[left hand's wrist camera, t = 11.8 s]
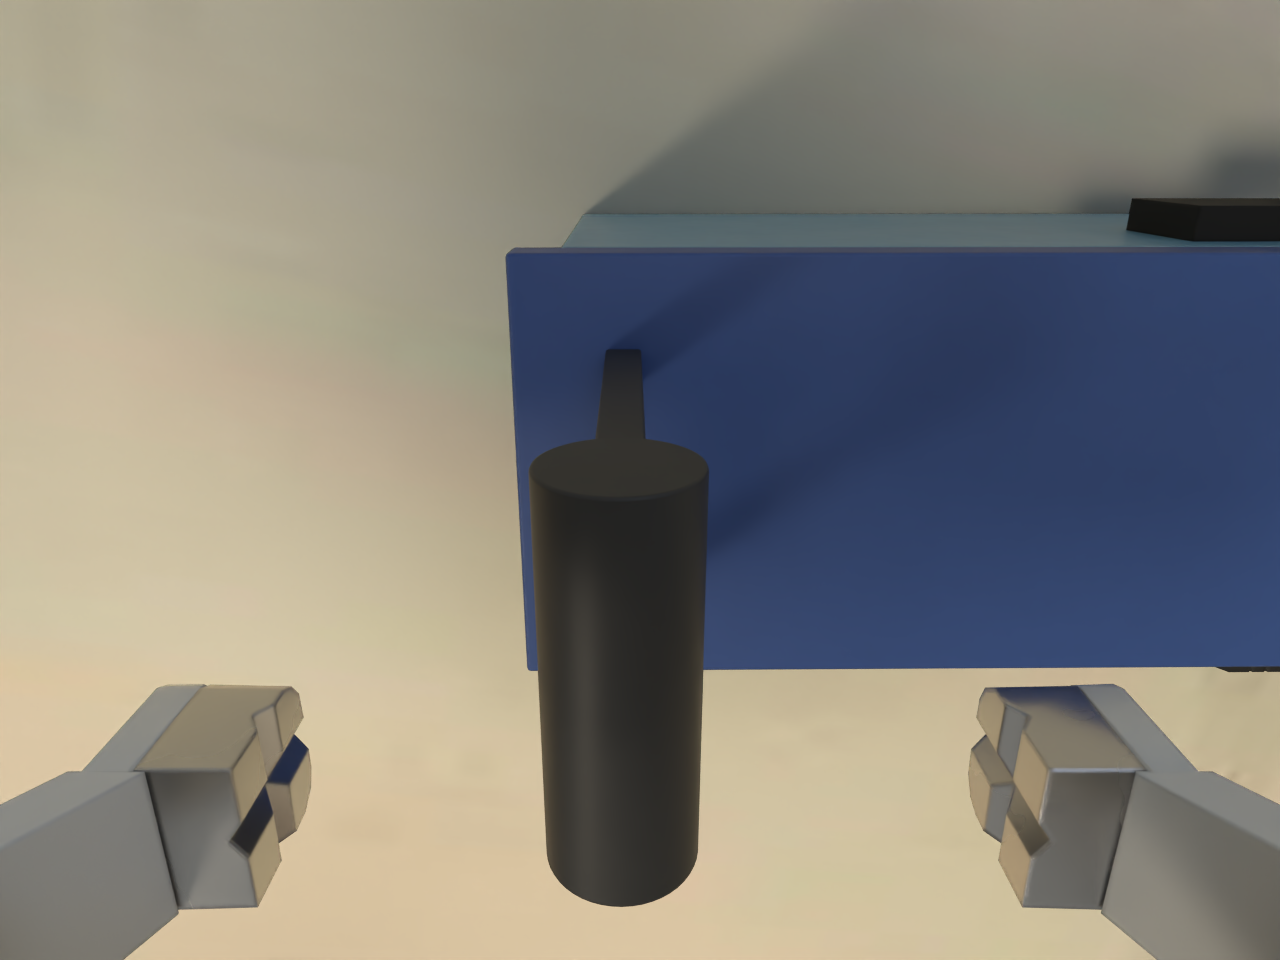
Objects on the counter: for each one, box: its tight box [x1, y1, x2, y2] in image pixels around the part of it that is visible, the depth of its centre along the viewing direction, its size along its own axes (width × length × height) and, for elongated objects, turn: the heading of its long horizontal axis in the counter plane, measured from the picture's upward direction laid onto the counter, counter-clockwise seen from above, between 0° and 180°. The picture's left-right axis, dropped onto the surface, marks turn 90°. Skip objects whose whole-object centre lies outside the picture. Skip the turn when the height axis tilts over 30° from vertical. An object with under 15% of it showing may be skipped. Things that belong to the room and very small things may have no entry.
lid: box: [506, 247, 1280, 907], centre depth 15 cm, size 18×9×9 cm, turn 90°
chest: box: [562, 214, 1280, 248], centre depth 24 cm, size 17×9×9 cm, turn 90°
